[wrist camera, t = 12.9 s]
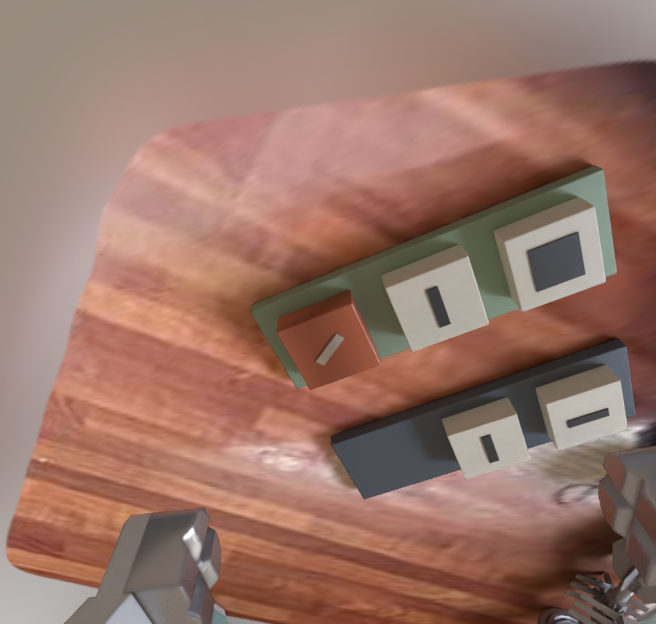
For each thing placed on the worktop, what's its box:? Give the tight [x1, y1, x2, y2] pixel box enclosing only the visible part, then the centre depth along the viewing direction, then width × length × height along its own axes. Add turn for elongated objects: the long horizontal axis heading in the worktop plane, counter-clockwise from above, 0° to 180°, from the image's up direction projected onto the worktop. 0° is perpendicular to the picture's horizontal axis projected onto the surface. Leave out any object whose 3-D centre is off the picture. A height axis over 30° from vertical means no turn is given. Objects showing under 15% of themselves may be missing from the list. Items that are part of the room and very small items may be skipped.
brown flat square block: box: [276, 290, 381, 390], centre depth 30 cm, size 5×5×2 cm
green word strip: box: [250, 165, 617, 389], centre depth 29 cm, size 22×7×3 cm, turn 113°
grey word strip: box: [331, 339, 635, 499], centre depth 35 cm, size 22×7×3 cm, turn 113°
